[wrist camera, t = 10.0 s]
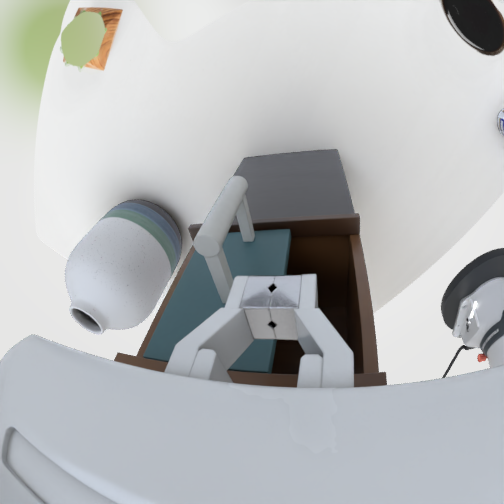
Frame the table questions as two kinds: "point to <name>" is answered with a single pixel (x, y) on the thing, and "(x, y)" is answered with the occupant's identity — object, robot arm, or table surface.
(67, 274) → the vase
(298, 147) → the table surface
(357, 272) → the cabinet
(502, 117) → the pill bottle
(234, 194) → the sliding door
